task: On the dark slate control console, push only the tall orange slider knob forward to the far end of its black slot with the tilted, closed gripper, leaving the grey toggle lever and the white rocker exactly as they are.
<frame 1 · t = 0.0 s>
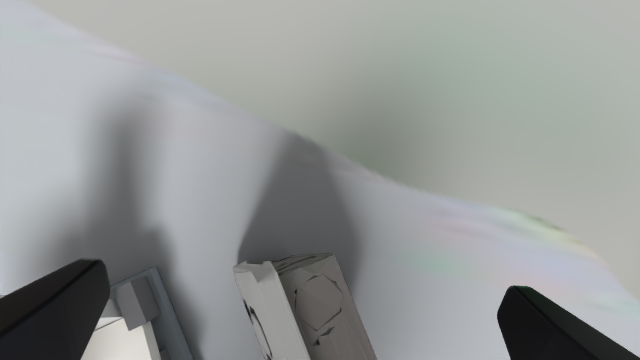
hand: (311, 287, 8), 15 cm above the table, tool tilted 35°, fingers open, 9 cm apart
toggle lever: (31, 322, 15), point 6 cm above the table, hinge at 15.0°
electrical switch: (296, 313, 22), on the table
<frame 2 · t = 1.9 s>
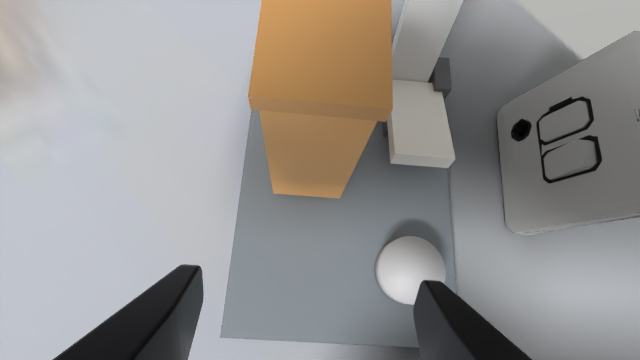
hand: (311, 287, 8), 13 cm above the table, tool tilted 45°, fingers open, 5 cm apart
console: (345, 189, 22), on the table
rocker: (416, 121, 21), point 3 cm above the table, hinge at 12.0°, touching console
toggle lever: (428, 12, 19), point 6 cm above the table, hinge at 15.0°
electrical switch: (533, 171, 24), on the table
slider knob: (314, 123, 16), point 7 cm above the table, slide at 0.0 cm
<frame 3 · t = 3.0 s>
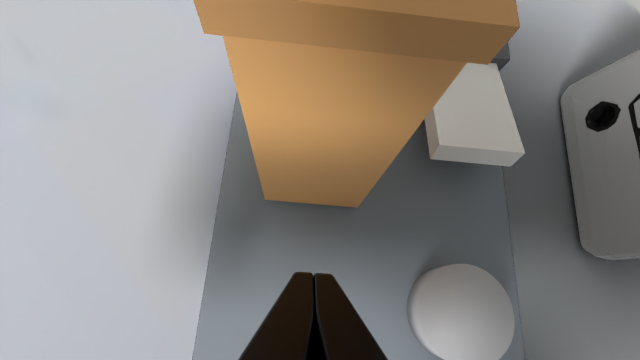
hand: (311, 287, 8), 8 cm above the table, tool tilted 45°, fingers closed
console: (363, 194, 16), on the table
rocker: (464, 101, 16), point 3 cm above the table, hinge at 12.0°, touching console
electrical switch: (610, 172, 18), on the table
slider knob: (327, 93, 10), point 7 cm above the table, slide at 0.0 cm
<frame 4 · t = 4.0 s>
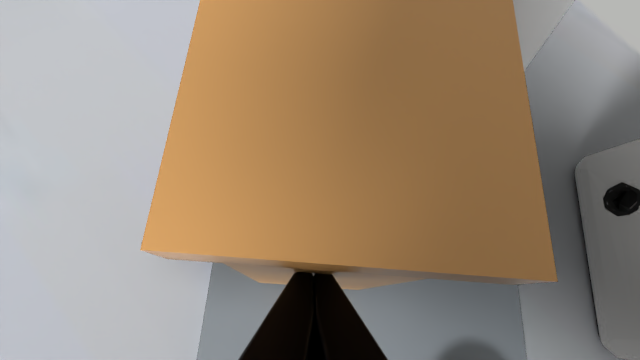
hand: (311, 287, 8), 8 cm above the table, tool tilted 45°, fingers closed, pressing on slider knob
console: (363, 284, 15), on the table
toggle lever: (502, 29, 12), point 6 cm above the table, hinge at 15.0°
electrical switch: (629, 251, 17), on the table
slider knob: (323, 202, 9), point 7 cm above the table, slide at 0.7 cm, touching gripper
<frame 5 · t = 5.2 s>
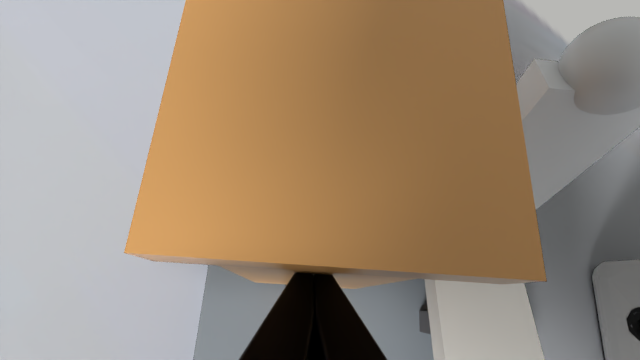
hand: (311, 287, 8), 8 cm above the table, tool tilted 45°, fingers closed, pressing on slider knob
rocker: (481, 326, 13), point 3 cm above the table, hinge at 12.0°, touching console
toggle lever: (517, 167, 10), point 6 cm above the table, hinge at 15.0°
slider knob: (317, 201, 9), point 7 cm above the table, slide at 6.1 cm, touching gripper
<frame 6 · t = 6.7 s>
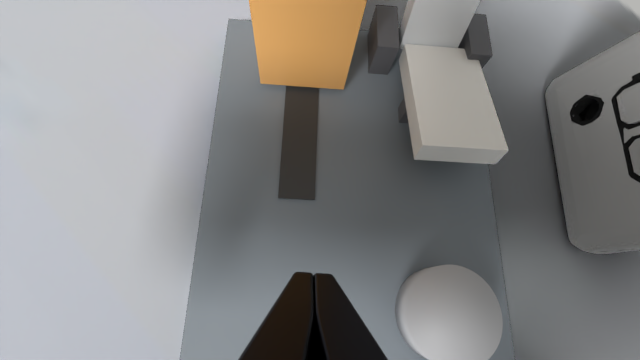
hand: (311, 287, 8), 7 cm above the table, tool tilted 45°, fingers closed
console: (349, 197, 16), on the table
rocker: (447, 100, 15), point 3 cm above the table, hinge at 12.0°, touching console
electrical switch: (596, 165, 18), on the table
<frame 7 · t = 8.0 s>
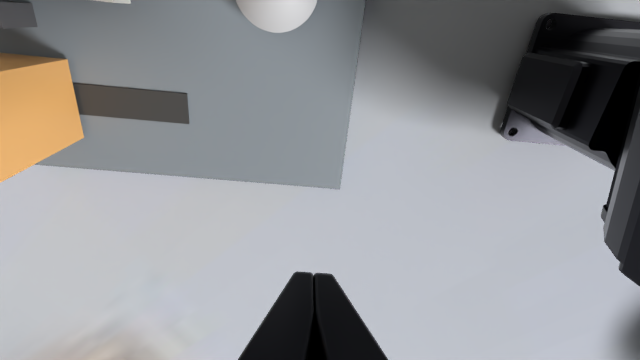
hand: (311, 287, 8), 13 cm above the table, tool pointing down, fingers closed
console: (181, 55, 18), on the table
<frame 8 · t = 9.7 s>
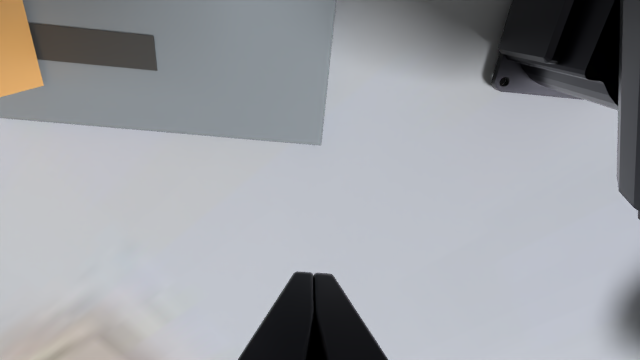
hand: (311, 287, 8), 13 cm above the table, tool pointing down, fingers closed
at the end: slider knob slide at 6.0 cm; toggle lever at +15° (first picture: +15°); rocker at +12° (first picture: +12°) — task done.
